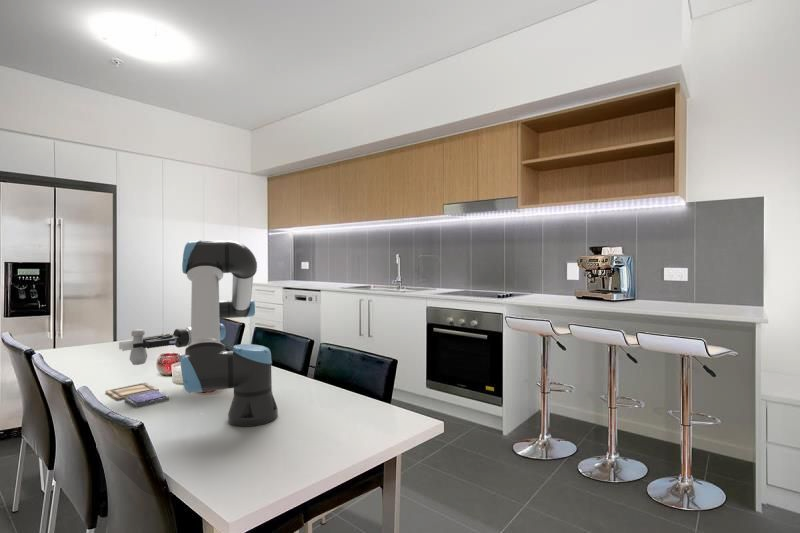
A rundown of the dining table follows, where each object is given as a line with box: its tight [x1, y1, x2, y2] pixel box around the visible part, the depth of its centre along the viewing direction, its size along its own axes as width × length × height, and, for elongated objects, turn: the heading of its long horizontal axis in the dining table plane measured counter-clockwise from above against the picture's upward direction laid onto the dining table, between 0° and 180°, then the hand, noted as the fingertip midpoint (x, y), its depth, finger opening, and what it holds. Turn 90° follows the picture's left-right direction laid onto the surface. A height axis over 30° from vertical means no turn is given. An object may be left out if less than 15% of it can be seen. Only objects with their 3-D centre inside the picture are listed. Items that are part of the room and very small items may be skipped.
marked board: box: [105, 382, 160, 401], centre depth 170 cm, size 14×14×1 cm
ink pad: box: [124, 390, 170, 409], centre depth 160 cm, size 11×11×2 cm
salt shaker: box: [129, 328, 148, 366], centre depth 167 cm, size 6×6×13 cm
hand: (121, 346), depth 163 cm, fingers closed on salt shaker, 3 cm apart
